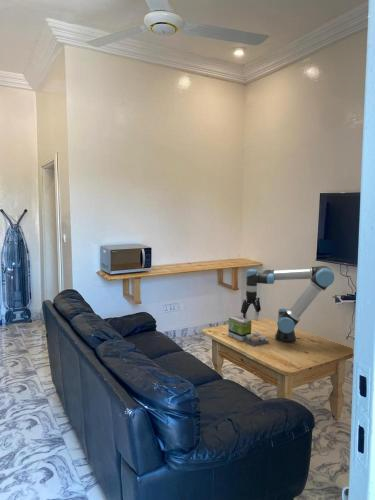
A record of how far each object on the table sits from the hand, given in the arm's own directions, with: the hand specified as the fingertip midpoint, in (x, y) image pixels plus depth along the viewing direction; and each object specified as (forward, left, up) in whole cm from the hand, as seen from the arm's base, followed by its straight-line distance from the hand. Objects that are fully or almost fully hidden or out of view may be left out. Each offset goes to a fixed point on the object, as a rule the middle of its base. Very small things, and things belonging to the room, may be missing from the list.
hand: (250, 321), depth 280 cm
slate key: (-6, 0, -14) cm, 15 cm away
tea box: (+1, -12, -16) cm, 20 cm away
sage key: (0, 0, -14) cm, 14 cm away
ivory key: (-6, +5, -14) cm, 16 cm away
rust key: (0, +5, -14) cm, 15 cm away
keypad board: (-3, +3, -16) cm, 16 cm away
